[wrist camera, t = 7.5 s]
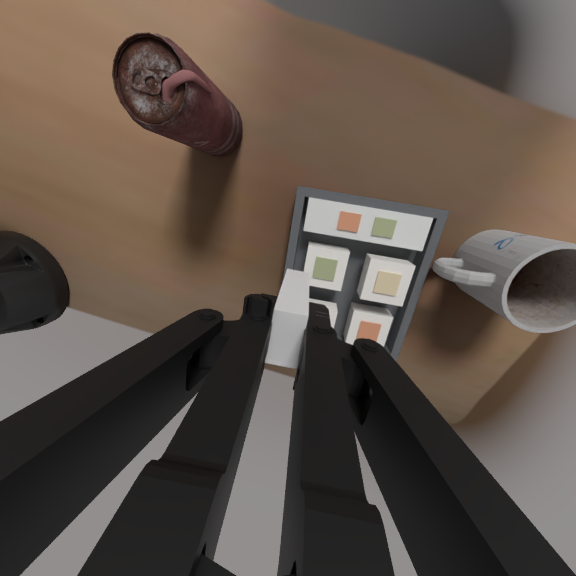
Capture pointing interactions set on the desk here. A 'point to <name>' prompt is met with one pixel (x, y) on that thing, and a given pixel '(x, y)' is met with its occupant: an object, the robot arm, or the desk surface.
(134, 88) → the can
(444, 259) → the mug
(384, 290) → the key sand
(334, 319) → the key slate
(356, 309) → the key rust
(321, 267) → the key olive
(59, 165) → the desk surface
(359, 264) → the keypad
